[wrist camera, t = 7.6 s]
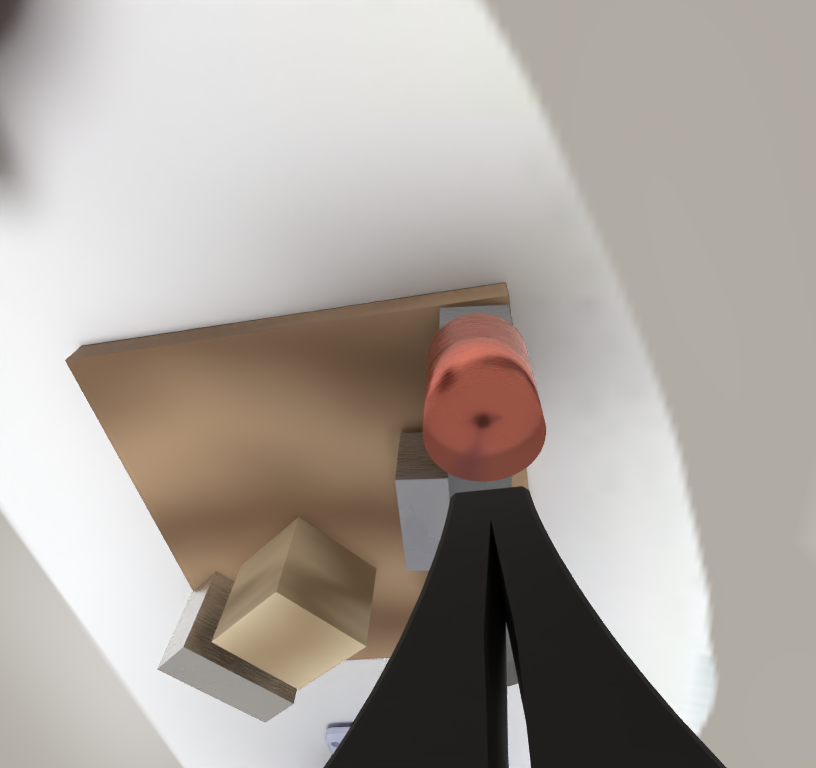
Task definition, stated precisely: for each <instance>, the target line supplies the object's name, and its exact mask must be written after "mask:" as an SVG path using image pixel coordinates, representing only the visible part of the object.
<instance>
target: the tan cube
mask: <svg viewBox="0 0 816 768" xmlns="http://www.w3.org/2000/svg"><path fill="white" fill-rule="evenodd" d="M375 576H376V568H375V567H373V566H372V565H370V564H369V563H367V562H366V561H364V560H363V559H361V558H360V557H358V556H357V555H355V554H354V553H352V552H351V551H349V550H348V549H346V548H345V547H343V546H342V545H340V544H339V543H337V542H336V541H334V540H333V539H331V538H330V537H328V536H327V535H325V534H324V533H322V532H321V531H319V530H318V529H316V528H315V527H313V526H312V525H310V524H309V523H307V522H306V521H304V520H303V519H301V518H300V517H298V518H297V519H295V520H294V521H293V522H292V523H291V524H290V525H288V526H287V527H286V528H285V529H284V530H282V531H281V532H280V533H279V534H278V535H277V536H275V537H274V538H273V539H272V540H271V541H270V542H268V543H267V544H266V545H265V546H264V547H262V548H261V549H260V550H259V551H258V552H257V553H255V554H254V555H253V556H252V557H251V558H249V559H248V560H247V561H246V562H245V563H244V564H242V565H241V566H240V569H239V572H238V574H237V577H236V579H235V582H234V585H233V587H232V590H231V592H230V595H229V598H228V600H227V603H226V605H225V608H224V611H223V613H222V616H221V618H220V621H219V624H218V626H217V629H216V631H215V634H214V637H213V639H212V643H214V644H216V645H218V646H220V647H221V648H223V649H225V650H227V651H229V652H231V653H232V654H234V655H236V656H238V657H240V658H242V659H243V660H245V661H247V662H249V663H251V664H252V665H254V666H256V667H258V668H260V669H262V670H263V671H265V672H267V673H269V674H271V675H273V676H274V677H276V678H278V679H280V680H282V681H284V682H285V683H287V684H289V685H291V686H293V687H294V688H296V689H298V690H299V689H301V688H302V687H304V686H306V685H307V684H309V683H310V682H312V681H313V680H315V679H316V678H318V677H320V676H321V675H323V674H324V673H326V672H327V671H329V670H331V669H332V668H334V667H335V666H337V665H338V664H340V663H341V662H343V661H345V660H346V659H348V658H349V657H351V656H352V655H354V654H356V653H357V652H359V651H360V650H362V649H363V648H365V647H366V645H367V638H368V630H369V622H370V615H371V607H372V599H373V592H374V584H375Z"/></svg>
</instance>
